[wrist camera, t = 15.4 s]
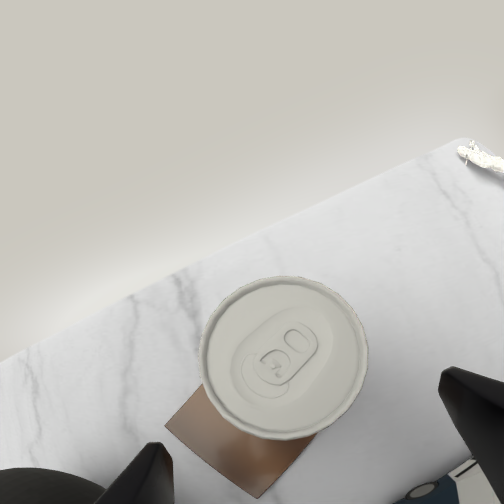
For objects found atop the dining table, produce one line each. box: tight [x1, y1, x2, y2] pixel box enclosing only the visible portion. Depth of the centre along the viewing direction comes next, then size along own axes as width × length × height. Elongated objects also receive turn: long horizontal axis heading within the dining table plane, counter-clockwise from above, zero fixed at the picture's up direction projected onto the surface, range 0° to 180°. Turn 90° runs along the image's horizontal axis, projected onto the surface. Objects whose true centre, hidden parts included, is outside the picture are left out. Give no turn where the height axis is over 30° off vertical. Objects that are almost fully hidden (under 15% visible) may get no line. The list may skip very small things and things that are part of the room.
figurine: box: [457, 140, 504, 173], centre depth 23 cm, size 7×7×12 cm
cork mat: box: [165, 383, 318, 499], centre depth 17 cm, size 11×8×1 cm
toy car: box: [393, 456, 501, 504], centre depth 10 cm, size 5×16×5 cm, turn 105°
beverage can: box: [198, 276, 368, 441], centre depth 13 cm, size 5×5×12 cm
